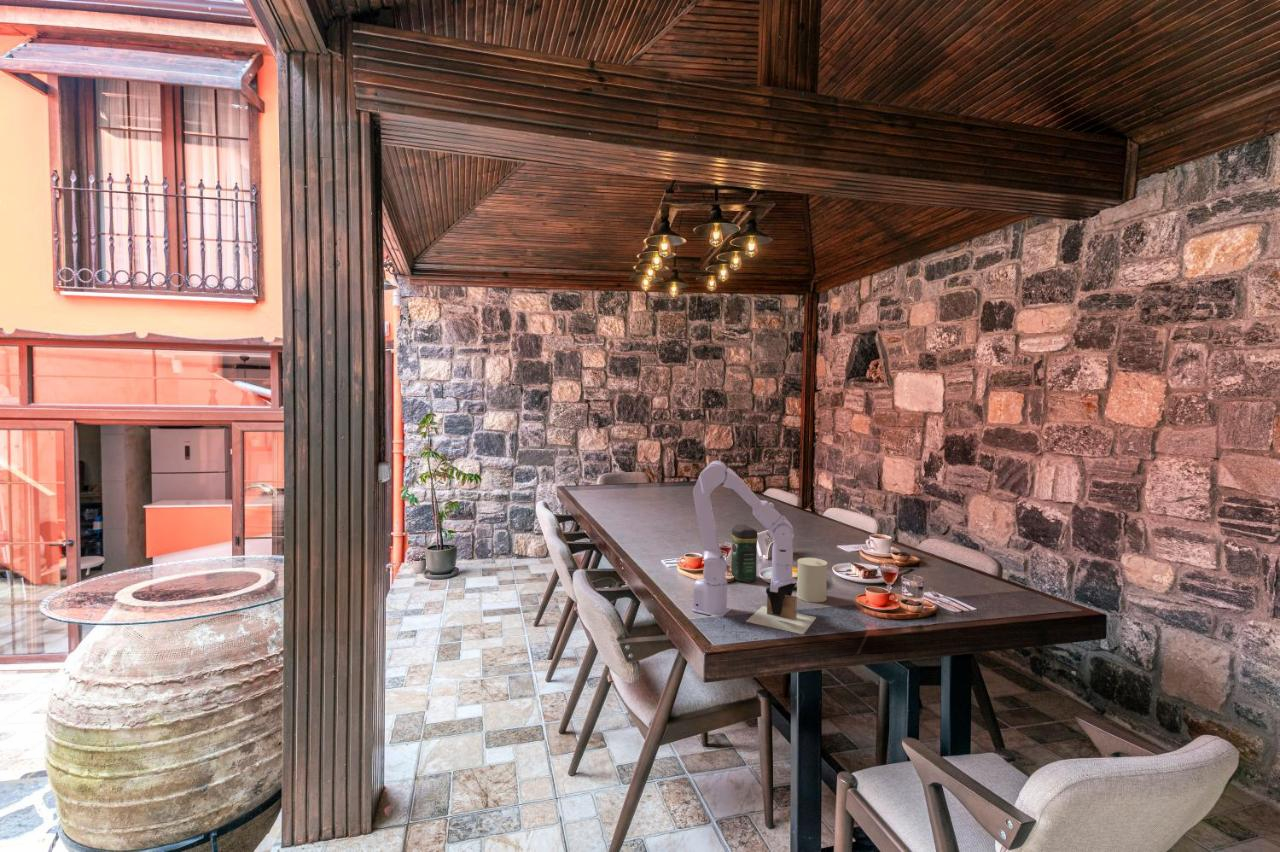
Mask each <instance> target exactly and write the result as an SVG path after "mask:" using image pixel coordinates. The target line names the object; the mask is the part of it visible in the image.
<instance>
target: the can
mask: <svg viewBox="0 0 1280 852" xmlns="http://www.w3.org/2000/svg"><path fill="white" fill-rule="evenodd" d="M827 576H828V562H827V560H823V559H820V558H817V557H801V558H798V559H797V579H796V582H797V584H796V586H797V587H796V596H795V597H797V599H799V600H801V601H804V602H808V603H823V602H825V601H827V581H828V579H827V578H828V577H827Z"/></svg>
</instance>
